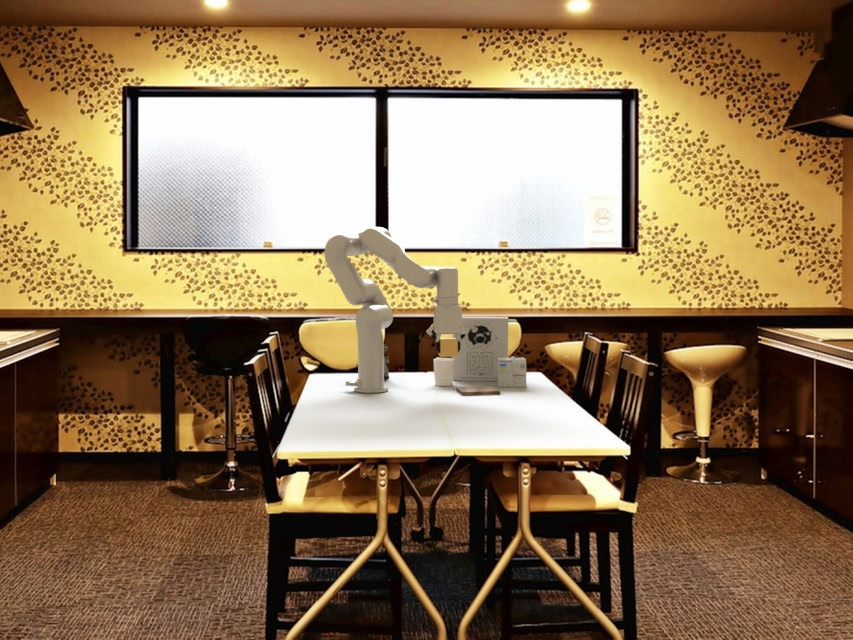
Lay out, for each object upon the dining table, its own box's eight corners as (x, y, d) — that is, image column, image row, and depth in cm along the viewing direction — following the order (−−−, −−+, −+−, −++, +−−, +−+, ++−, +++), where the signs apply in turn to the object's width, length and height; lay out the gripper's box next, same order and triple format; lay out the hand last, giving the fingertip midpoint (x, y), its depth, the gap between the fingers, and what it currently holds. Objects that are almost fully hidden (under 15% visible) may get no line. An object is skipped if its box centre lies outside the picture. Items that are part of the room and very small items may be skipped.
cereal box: (507, 378, 371) (508, 316, 369) (507, 381, 363) (507, 318, 361) (454, 377, 373) (454, 316, 371) (452, 380, 365) (452, 317, 363)
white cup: (431, 386, 352) (431, 360, 351) (436, 383, 359) (436, 357, 358) (451, 386, 350) (451, 360, 349) (456, 383, 357) (456, 358, 356)
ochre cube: (441, 356, 325) (440, 339, 324) (438, 354, 331) (438, 338, 330) (457, 356, 326) (457, 339, 325) (454, 354, 331) (454, 337, 331)
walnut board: (462, 395, 330) (462, 392, 330) (456, 390, 341) (456, 387, 341) (500, 394, 333) (500, 390, 332) (493, 389, 343) (493, 386, 343)
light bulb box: (524, 384, 355) (524, 356, 354) (526, 387, 349) (527, 359, 348) (496, 384, 355) (496, 357, 354) (498, 387, 348) (498, 359, 347)
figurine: (373, 377, 375) (373, 340, 374) (391, 380, 367) (391, 342, 365) (355, 379, 369) (355, 342, 368) (373, 382, 361) (373, 344, 359)
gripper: (425, 303, 322) (425, 354, 323) (473, 302, 324) (473, 353, 326) (422, 301, 329) (422, 352, 330) (469, 300, 331) (469, 350, 333)
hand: (448, 352), depth 328 cm, fingers closed on ochre cube, 6 cm apart
